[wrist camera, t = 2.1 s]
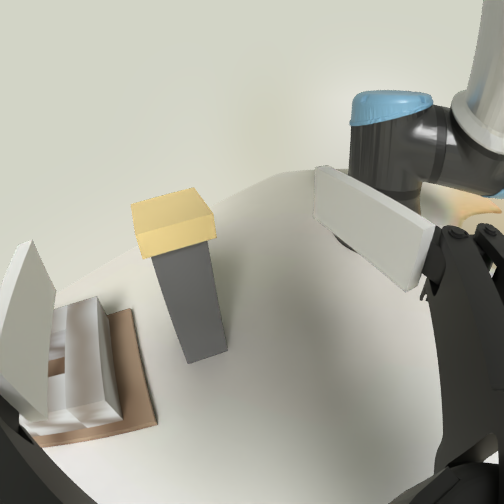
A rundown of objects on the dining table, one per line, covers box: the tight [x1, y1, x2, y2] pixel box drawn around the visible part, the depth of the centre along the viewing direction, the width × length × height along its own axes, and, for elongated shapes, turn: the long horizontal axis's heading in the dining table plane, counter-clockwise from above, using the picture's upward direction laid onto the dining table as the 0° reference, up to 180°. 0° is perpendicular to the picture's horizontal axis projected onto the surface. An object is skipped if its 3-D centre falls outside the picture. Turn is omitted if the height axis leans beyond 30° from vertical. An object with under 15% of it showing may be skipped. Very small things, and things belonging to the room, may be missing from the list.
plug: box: [131, 188, 228, 364], centre depth 27 cm, size 6×6×16 cm
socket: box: [19, 296, 158, 448], centre depth 25 cm, size 20×16×5 cm
